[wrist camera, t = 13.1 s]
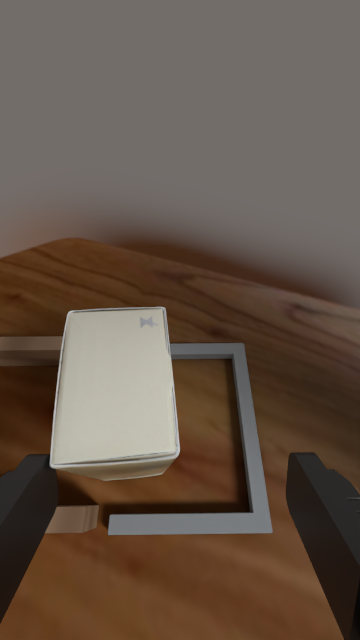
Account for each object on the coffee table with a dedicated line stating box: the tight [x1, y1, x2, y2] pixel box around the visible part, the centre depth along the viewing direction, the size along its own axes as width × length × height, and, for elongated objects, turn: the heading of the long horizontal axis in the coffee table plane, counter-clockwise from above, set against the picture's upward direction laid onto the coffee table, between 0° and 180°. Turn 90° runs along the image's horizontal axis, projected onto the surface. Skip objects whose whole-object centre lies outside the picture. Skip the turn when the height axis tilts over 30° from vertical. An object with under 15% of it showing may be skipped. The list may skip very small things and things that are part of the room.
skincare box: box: [50, 307, 180, 481], centre depth 16 cm, size 6×4×12 cm
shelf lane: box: [0, 336, 99, 533], centre depth 19 cm, size 14×12×4 cm
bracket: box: [108, 343, 272, 535], centre depth 21 cm, size 10×13×1 cm
